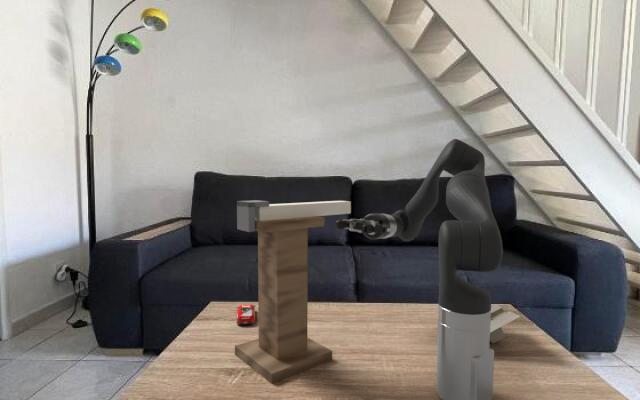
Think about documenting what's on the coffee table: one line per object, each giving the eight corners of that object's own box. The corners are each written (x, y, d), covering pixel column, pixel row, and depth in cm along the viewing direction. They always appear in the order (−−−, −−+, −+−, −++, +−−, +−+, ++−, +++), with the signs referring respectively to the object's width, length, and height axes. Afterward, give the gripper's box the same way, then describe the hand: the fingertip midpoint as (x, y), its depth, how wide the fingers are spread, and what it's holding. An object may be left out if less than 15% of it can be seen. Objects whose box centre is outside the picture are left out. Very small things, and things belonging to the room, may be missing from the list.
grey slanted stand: (489, 377, 88) (538, 333, 88) (463, 347, 89) (511, 303, 89) (465, 355, 104) (507, 318, 105) (443, 329, 105) (484, 293, 106)
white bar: (351, 221, 97) (352, 197, 96) (248, 231, 78) (248, 202, 78) (338, 219, 101) (338, 196, 100) (237, 229, 82) (236, 201, 82)
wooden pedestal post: (332, 359, 87) (333, 218, 85) (271, 383, 77) (271, 224, 75) (291, 336, 100) (291, 212, 98) (234, 354, 90) (233, 217, 88)
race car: (237, 311, 119) (237, 298, 119) (255, 310, 120) (255, 297, 120) (234, 327, 106) (234, 313, 106) (255, 326, 107) (254, 312, 107)
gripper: (360, 210, 121) (329, 210, 108) (402, 216, 112) (374, 216, 99) (358, 234, 121) (327, 236, 108) (399, 242, 112) (371, 245, 99)
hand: (349, 227), depth 103 cm, fingers open, 8 cm apart
